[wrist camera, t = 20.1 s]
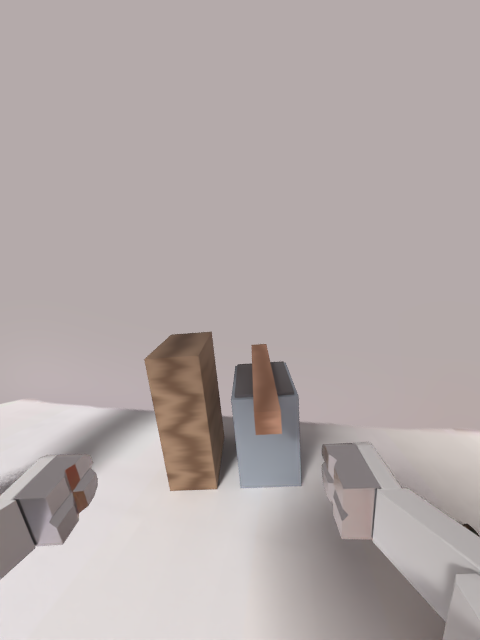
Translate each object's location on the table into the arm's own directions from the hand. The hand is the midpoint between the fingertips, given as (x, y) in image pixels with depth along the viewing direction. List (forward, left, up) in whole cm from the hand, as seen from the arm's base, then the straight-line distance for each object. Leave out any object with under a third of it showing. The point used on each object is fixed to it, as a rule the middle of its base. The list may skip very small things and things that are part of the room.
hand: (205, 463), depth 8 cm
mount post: (-10, +30, -29) cm, 43 cm away
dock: (+3, +30, -29) cm, 42 cm away
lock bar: (+3, +27, -12) cm, 30 cm away
